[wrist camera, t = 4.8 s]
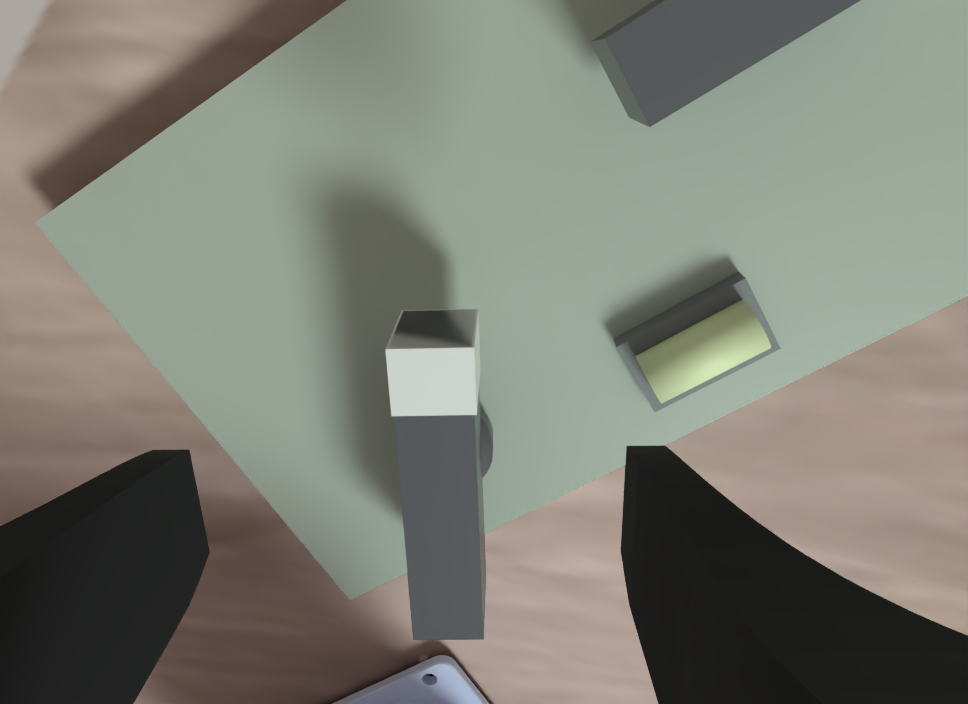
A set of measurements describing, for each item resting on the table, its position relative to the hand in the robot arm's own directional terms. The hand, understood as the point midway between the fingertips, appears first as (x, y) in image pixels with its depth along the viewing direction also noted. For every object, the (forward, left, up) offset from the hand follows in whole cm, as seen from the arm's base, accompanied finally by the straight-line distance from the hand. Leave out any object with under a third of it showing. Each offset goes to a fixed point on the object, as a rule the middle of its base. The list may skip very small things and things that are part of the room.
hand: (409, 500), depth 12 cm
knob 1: (-1, -3, -8) cm, 9 cm away
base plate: (+5, +1, -9) cm, 10 cm away
